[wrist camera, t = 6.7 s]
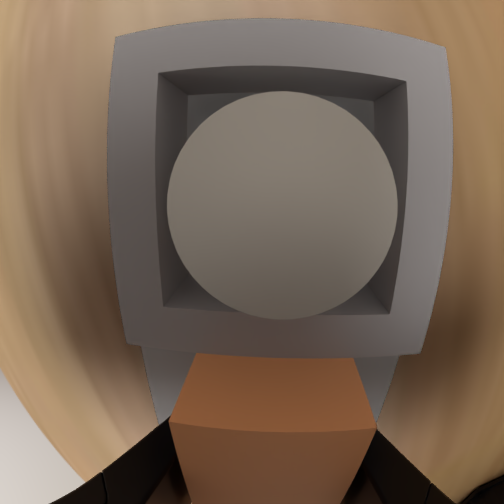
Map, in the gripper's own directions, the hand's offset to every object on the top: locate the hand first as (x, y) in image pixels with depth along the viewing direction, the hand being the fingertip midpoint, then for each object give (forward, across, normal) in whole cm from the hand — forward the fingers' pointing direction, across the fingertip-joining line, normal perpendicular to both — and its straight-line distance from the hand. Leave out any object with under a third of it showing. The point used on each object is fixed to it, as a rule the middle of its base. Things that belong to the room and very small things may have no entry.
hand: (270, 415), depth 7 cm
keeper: (+3, 0, -2) cm, 4 cm away
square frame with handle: (+1, 0, -2) cm, 2 cm away
